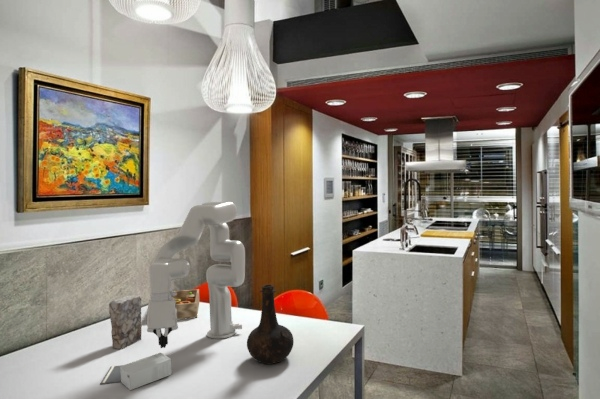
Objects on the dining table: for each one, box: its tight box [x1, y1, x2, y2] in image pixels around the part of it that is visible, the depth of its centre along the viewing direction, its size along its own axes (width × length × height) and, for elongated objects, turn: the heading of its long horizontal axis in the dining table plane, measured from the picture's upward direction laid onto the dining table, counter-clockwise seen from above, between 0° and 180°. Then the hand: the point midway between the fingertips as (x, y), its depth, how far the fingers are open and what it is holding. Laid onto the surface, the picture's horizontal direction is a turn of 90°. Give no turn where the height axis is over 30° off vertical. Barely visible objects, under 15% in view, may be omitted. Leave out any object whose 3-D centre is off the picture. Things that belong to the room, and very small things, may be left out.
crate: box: [172, 288, 200, 320], centre depth 227 cm, size 22×32×8 cm
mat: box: [100, 364, 124, 385], centre depth 148 cm, size 18×14×1 cm
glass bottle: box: [246, 284, 295, 365], centre depth 156 cm, size 18×18×28 cm
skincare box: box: [119, 352, 172, 391], centre depth 142 cm, size 8×6×15 cm
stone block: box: [108, 294, 143, 350], centre depth 178 cm, size 13×7×20 cm, turn 165°
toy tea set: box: [175, 292, 196, 304], centre depth 227 cm, size 26×16×10 cm, turn 171°
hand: (163, 346), depth 150 cm, fingers closed
